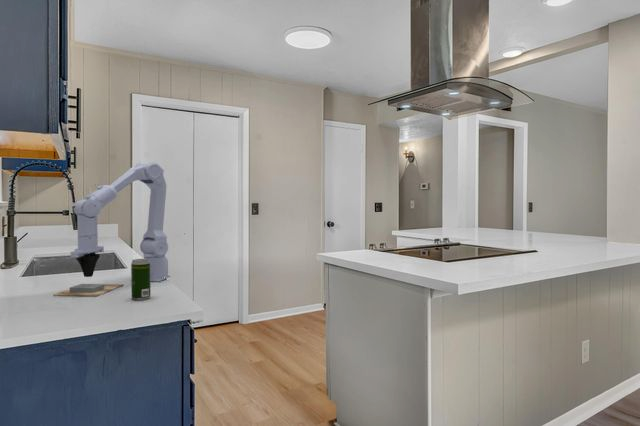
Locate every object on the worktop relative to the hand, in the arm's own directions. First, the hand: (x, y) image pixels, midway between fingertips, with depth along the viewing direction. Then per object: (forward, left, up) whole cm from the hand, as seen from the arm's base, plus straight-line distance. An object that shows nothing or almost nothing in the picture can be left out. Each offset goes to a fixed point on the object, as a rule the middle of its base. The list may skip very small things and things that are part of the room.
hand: (88, 276), depth 134 cm
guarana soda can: (+8, +22, -5) cm, 24 cm away
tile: (-2, 0, -4) cm, 4 cm away
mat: (-1, 0, -5) cm, 5 cm away
